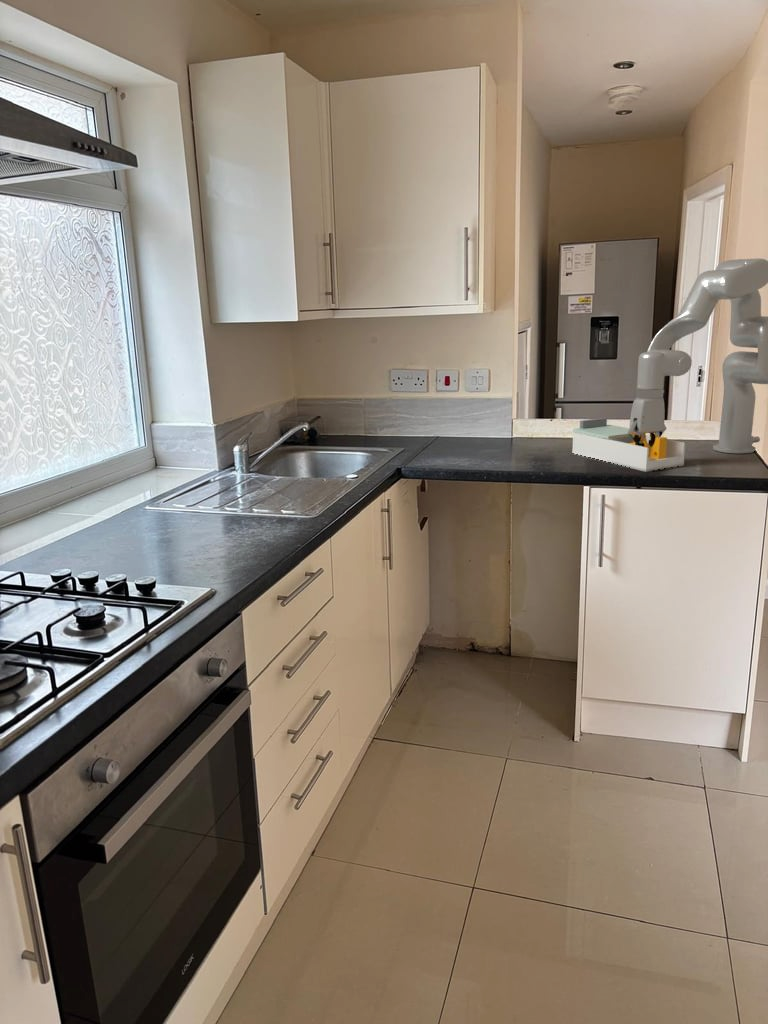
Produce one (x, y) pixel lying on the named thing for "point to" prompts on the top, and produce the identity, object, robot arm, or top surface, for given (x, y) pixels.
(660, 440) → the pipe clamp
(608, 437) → the lid
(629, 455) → the housing
